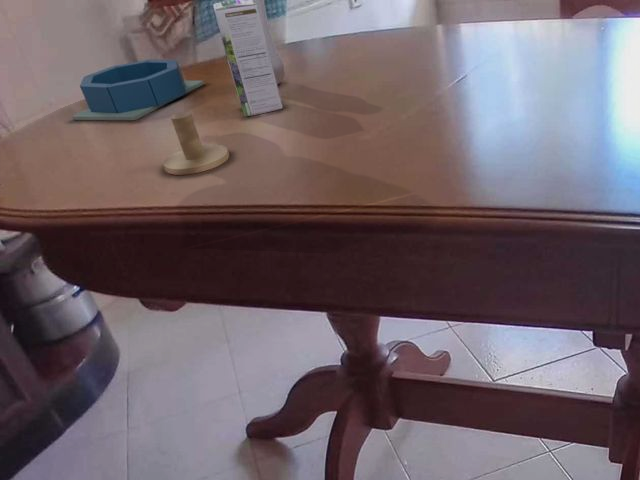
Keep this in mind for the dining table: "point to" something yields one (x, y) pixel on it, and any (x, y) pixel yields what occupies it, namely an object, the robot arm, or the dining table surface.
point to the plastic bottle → (270, 43)
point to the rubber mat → (130, 114)
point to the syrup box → (248, 56)
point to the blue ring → (133, 86)
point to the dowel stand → (192, 149)
